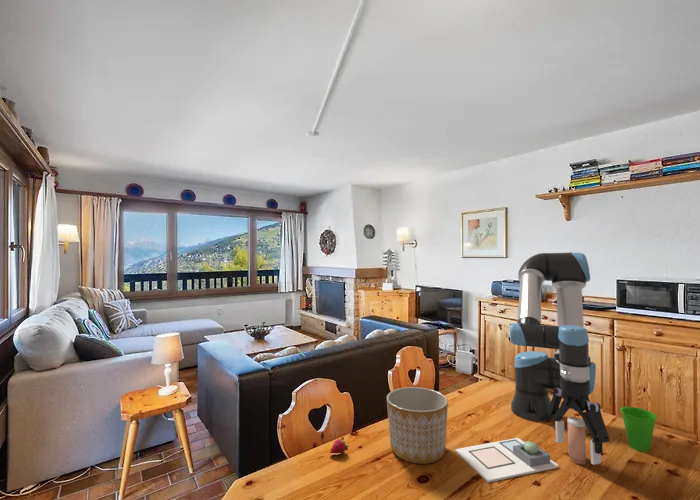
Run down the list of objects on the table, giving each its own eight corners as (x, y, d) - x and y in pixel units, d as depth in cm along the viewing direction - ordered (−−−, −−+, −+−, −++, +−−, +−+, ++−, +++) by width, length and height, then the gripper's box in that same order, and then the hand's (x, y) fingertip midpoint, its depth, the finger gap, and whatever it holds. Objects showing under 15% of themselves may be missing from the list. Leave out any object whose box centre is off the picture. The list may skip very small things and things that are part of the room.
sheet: (455, 451, 108) (455, 448, 108) (518, 439, 114) (518, 437, 114) (487, 482, 93) (487, 480, 93) (558, 467, 99) (558, 464, 99)
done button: (521, 450, 104) (521, 442, 104) (531, 448, 105) (531, 440, 105) (530, 456, 100) (530, 448, 100) (540, 454, 101) (540, 446, 101)
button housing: (513, 454, 105) (512, 446, 105) (531, 450, 107) (531, 442, 107) (530, 467, 98) (530, 458, 98) (550, 463, 100) (550, 454, 100)
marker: (565, 457, 104) (563, 417, 104) (576, 455, 105) (575, 416, 105) (578, 466, 99) (576, 424, 100) (590, 463, 100) (588, 422, 101)
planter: (453, 441, 114) (452, 391, 114) (443, 475, 96) (441, 416, 97) (397, 430, 122) (396, 383, 122) (379, 459, 104) (378, 404, 105)
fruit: (327, 452, 108) (327, 436, 109) (345, 449, 110) (344, 433, 111) (330, 460, 104) (330, 443, 105) (349, 456, 106) (349, 439, 107)
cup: (665, 457, 103) (664, 420, 104) (631, 454, 105) (630, 417, 105) (646, 441, 112) (645, 407, 112) (615, 438, 114) (614, 405, 114)
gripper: (533, 367, 113) (535, 434, 112) (603, 394, 90) (606, 478, 90) (552, 365, 115) (554, 431, 114) (624, 391, 92) (627, 473, 92)
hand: (577, 452), depth 102 cm, fingers open, 11 cm apart
